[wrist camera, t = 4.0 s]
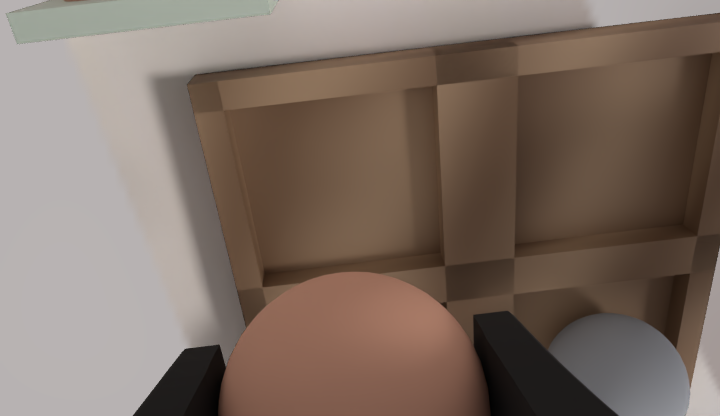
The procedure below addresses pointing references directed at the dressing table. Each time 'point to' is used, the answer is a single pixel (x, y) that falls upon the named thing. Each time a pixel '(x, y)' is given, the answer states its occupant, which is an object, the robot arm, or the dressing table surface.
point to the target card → (122, 16)
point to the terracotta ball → (354, 354)
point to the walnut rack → (483, 174)
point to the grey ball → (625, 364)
